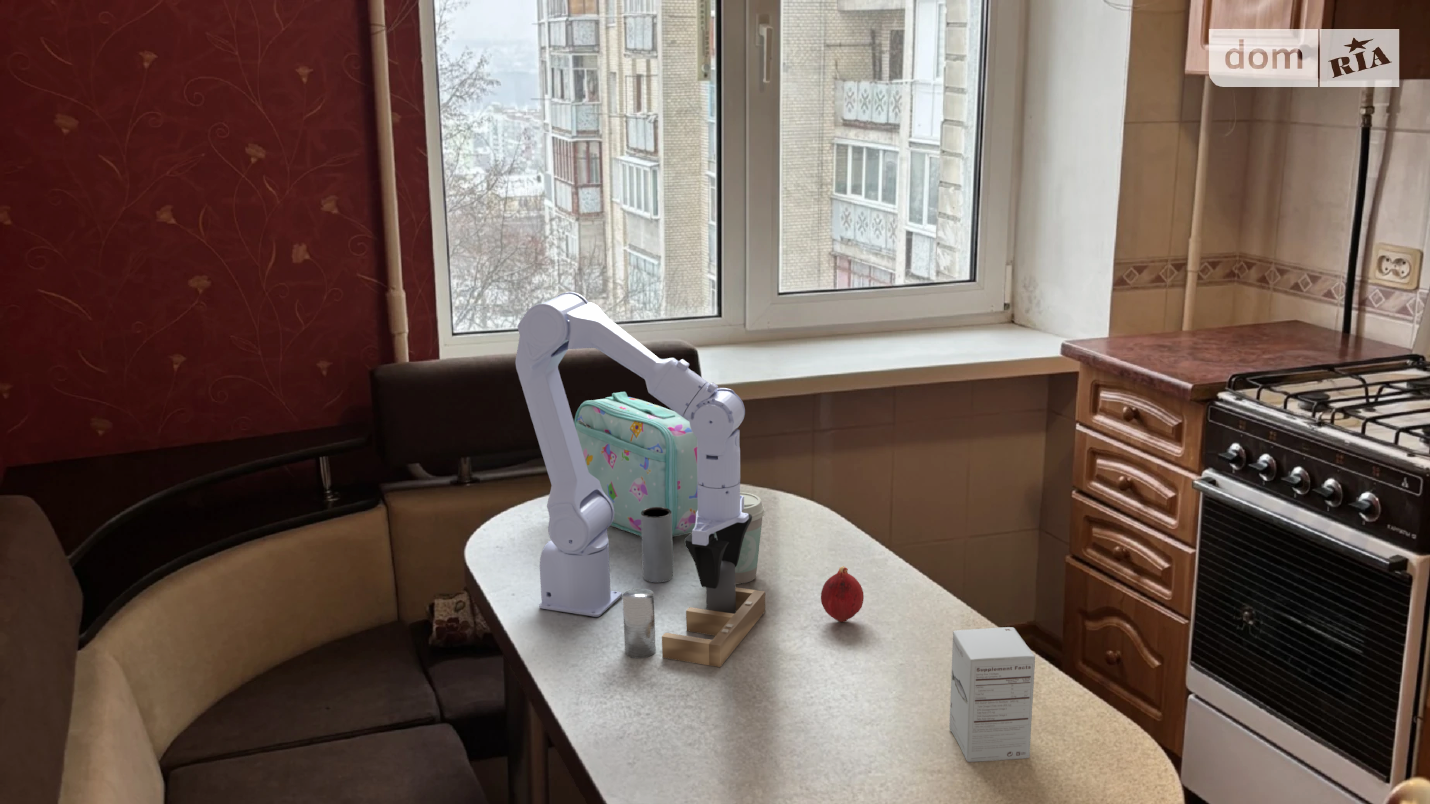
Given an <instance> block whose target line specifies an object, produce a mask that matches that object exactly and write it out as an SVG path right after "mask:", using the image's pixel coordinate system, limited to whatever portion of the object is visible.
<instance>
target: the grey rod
mask: <svg viewBox="0 0 1430 804" xmlns="http://www.w3.org/2000/svg"><path fill="white" fill-rule="evenodd" d="M622 607H623V609H622V611H623V612H622V613H623V631H624V632H623V637H624V638H623V639H624V653H625V655H626V656H627V657H630V658H633V659H645V658H648V657H651V656H653V655H654V654H655V653H656V623H655V622H656V621H655V619H656V618H655V593H654V592H653V591H652V590H651V589H649V588H648V589H647V588H632V589H631V588H630V589H628V590H626V591H624V592H622Z"/></svg>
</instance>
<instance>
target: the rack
mask: <svg viewBox="0 0 1430 804" xmlns="http://www.w3.org/2000/svg"><path fill="white" fill-rule="evenodd" d="M735 593H736V613H735V614H732V613H725V612H719V611H712V610H707V609H704V608H696V607H691V606H690V607H688V608H687V609H686V611H685V619H686V620H685V621H686V626H685V627H686V632H689V633H690V632H691V633H698V634H703V635H708V636H709V635H710V636H714V637H713V638H712V639H708V638H703V637H695V636H690V635H685V634H678V633H670V632H665V633H663V634H662V635H661V652H662V653H661V654H662V659H668V660H675V661H681V662H686V663H693V664H699V665H704V666H709V667H710V666H711V667H718V668H721V667H722V666H723V664H724V663H725V662H726V660H727V659H728V658H729V657H730V656H731V654H732V653H733V652H734V650H735V649H736V648H737V647H738V646H739V645H740V643H741V642H742V641H743V640H744V638H745V637H746V636H747V634H748V633H749V632H750V631H751V629H752V628H753V627H754V626H755V624H756V623H757V622H758V621H759V620H760V618H761V617H762V616H763V615H764V614H765V612H766V591H765V590H757V589H751V588H750V589H749V588H744V587H743V588H742V587H738V586H737V587H736V586H735ZM762 614H763V615H762Z"/></svg>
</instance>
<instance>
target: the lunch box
mask: <svg viewBox="0 0 1430 804" xmlns="http://www.w3.org/2000/svg"><path fill="white" fill-rule="evenodd" d="M574 424H575V428H576V431H577V435H578V438H579V441H580V445H581V448H582V451H583V455H584V458H585V462H586V465H587V468H588V472H589V473H590V474H591V475H592V476H594V477H595V478H597V479H598V480H599V481H600V484H601V487H602V490H603V492H604V493H605V495H606V496H607V497H608V498H609V499H610V501H611V502H612V504H613V507H614V512H615V513H614V520H613V522H612V524H611V525H610V526H611V527H614V528H617V529H619V530H620V531H621V530H622V531H624V532H628V533H630V534H633V535H636V536H638V537H641V538H642V535H641V512H642V511H643V510H644V509H647V508H651V507H664V508H668V509H670V510H671V512H672V538H674V537H677V536H682V535H689V534H692V530H693V529H694V527H695V521H696V512H697V511H698V494H697V437H696V436H695V435H694V433H693V432H692V430H691V427H690V422H689V421H688V420H686V419H684V418H683V417H682V416H680V415H679V414H677V413H676V412H675V411H673V410H672V409H670V408H669V409H668V408H666V407H663V406H661V405H658V404H655V403H654V404H653V403H652V402H648V401H646V400H643V399H639V398H635V397H631V396H628V394H627V392H626V391H620V392H613V393H611V396H607V397H605V398H600V399H593V400H592V399H591V400H589V399H588V400H584V401H583V402H582V403H581V404H580V406H579V407H578V408H577V411H576V412H575V416H574ZM610 526H609V527H610Z"/></svg>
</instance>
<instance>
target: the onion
mask: <svg viewBox="0 0 1430 804" xmlns="http://www.w3.org/2000/svg"><path fill="white" fill-rule="evenodd" d="M848 569H849V568H847V567H846V566H844V565H842V566H840V567H839V569H838V571H837V573H835V574H833V575H832V576H830V577H829V578H827V580H826V581H825V582H824V584H823V586H822V589H821V593H820V601H821V605H822V607H823V609H824V611H825V613H827V614H828V616H830V617H831V618H832V619H834V620H836V621H838V622H839V623H845V622H847V621H849V620H850V619H852V618H853V617H854V616H855V615H857V614H858V613H859V612H860V611H861V609H862V608H863V604H864V597H865V595H864V591H863V590H864V589H863V587H862V585H861V583H860V582H859V581H858V580H857V578H856V577H854V575H852V574H850V573H849V572H848V571H849V570H848Z"/></svg>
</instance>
